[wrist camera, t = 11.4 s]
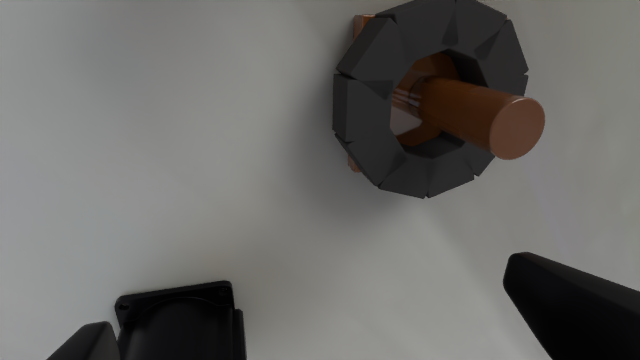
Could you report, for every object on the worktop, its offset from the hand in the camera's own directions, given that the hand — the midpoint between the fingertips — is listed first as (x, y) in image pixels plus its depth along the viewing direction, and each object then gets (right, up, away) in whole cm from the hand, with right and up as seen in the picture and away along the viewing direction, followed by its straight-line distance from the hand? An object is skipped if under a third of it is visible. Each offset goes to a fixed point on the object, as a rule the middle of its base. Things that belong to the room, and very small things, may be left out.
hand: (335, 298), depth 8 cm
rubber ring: (+5, +7, +11) cm, 14 cm away
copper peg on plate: (+5, +8, +12) cm, 15 cm away
